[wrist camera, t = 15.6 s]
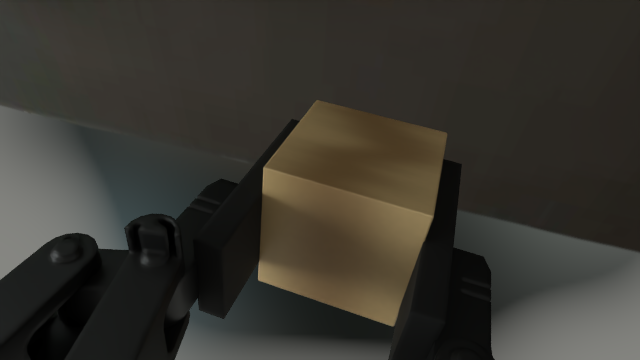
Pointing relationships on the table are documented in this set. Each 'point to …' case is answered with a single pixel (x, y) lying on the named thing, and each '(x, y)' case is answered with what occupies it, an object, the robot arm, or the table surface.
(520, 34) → the table surface
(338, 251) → the block
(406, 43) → the table surface
